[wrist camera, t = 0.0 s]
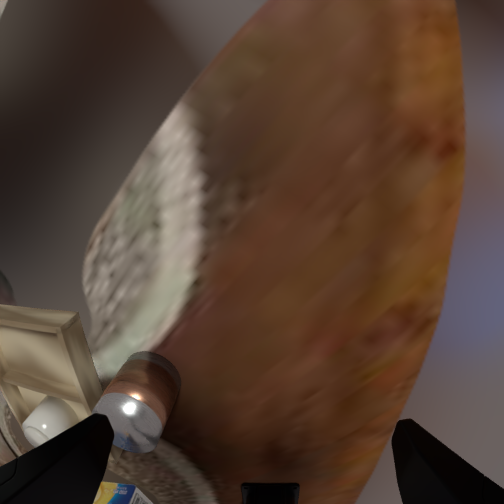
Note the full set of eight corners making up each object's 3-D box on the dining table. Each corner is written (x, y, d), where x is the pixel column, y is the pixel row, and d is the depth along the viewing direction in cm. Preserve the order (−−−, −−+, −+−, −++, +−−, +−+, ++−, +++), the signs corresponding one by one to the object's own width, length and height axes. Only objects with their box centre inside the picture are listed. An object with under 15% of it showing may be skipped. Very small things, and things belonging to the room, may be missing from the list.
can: (186, 400, 26) (165, 458, 19) (132, 395, 27) (104, 446, 20) (176, 352, 25) (148, 409, 18) (118, 348, 25) (81, 397, 18)
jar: (84, 430, 28) (63, 463, 23) (53, 421, 29) (31, 450, 23) (69, 399, 27) (44, 432, 22) (38, 391, 27) (12, 420, 22)
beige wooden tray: (125, 445, 29) (116, 463, 26) (35, 420, 30) (25, 434, 27) (78, 311, 24) (60, 327, 22) (-13, 302, 26) (-30, 313, 23)
